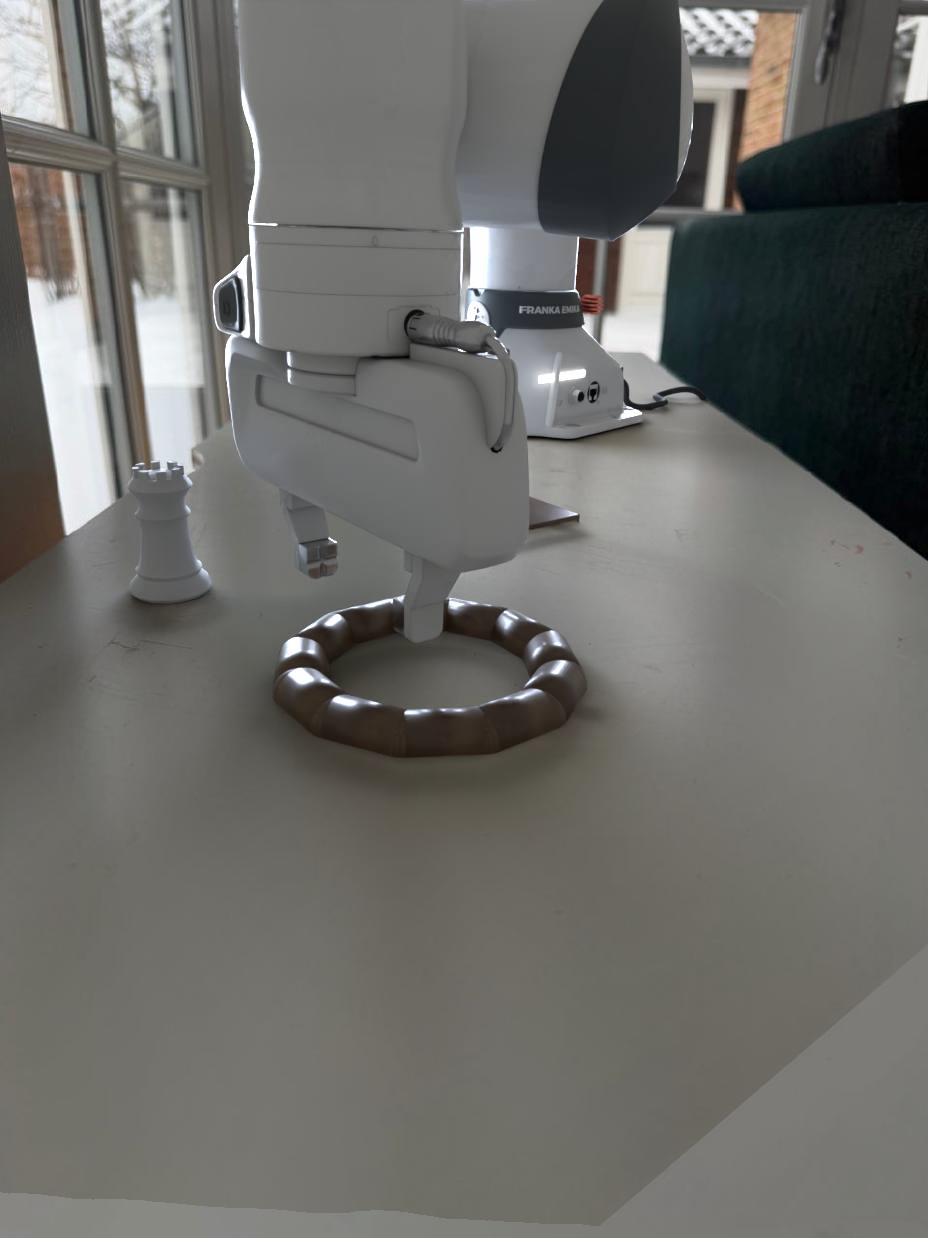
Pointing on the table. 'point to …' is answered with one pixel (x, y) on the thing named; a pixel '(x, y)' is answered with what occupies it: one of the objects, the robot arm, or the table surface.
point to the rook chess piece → (165, 537)
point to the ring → (438, 729)
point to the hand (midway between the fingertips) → (363, 602)
